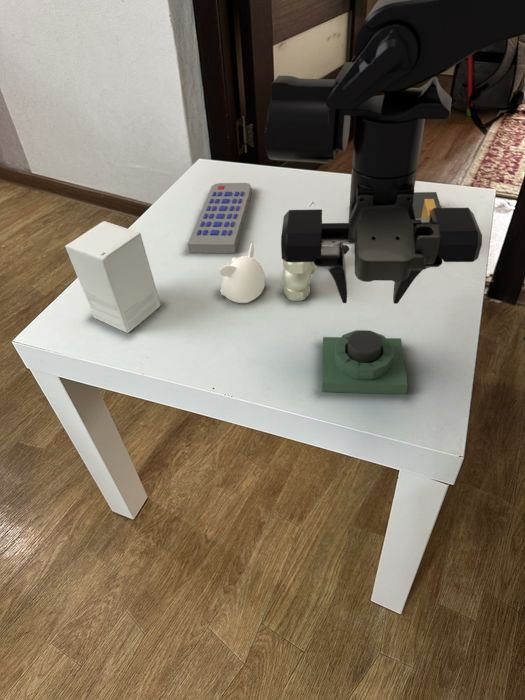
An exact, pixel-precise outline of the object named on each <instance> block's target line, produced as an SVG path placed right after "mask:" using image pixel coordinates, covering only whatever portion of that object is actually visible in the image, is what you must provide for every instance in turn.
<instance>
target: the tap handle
mask: <svg viewBox="0 0 525 700" xmlns="http://www.w3.org/2000/svg"><path fill="white" fill-rule="evenodd" d="M433 208H436V205H435V202H434V199H425V200H424V205H423V211H422V217H421V218H429V217H430V212H431V210H432V209H433Z"/></svg>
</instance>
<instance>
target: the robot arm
mask: <svg viewBox="0 0 525 700" xmlns="http://www.w3.org/2000/svg"><path fill="white" fill-rule="evenodd" d="M524 35H525V0H377V1H376V3H375V4H374V5H373V7H372V8H371V10H370V11H369V13H368V14H367V16H366V18H365V19H364V20H363V23H362V25H361V27H360V29H359V30H358V32H357V34H356V40H355V44H354V56H353V58H352V59H351V60H350V61H347V62H345V63H344V65H343V66H342V68H341V70H340V71H339V72H338V75H337V76H336V78H334V79H333V78H299V77H296V76H293V75H277V77H276V78H275V79H274V80H273V81H272V83H271V84H270V100H269V103H268V109H267V114H266V127H265V128H264V129H263V139H264V141H263V142H264V148H265V152H266V155H267V158H268V159H269V160H270V161H284V162H300V163H314V164H315V163H316V164H330V165H331V164H332V163H333V161H335V159H336V155H337V153H346V150H347V147H348V142H349V137H350V128H351V116H352V117H354V129H353V144H352V161H351V162H352V163H351V174H350V176H351V177H350V193H349V206H348V207H349V209H348V222H323V209H322V208H321V209H289V210H288V211H287V212H286V213H285V214H284V215H283V219H282V227H281V234H280V235H281V237H280V247H281V248H280V253H281V254H280V255H281V260H282V261H283V260H284V261H286V262H314V265H315V266H317V267H318V268H324V269H326V270H327V271H328V272H329V274H330V275H331V277H332V279H333V281H334V284H335V286H336V289H337V291H338V294H339V298H340V299H341V302H342V304H347V301H348V282H347V281H348V279H347V270H346V261H345V254H344V248H343V245H354V275H355V278H357V279H358V280H359V281H361V282H366V283H371V282H374V281H383V282H384V281H386V282H387V281H390V282H391V281H392V282H394V284H393V292H392V302H393V304H397V305H398V303H400V301H401V299H402V298H403V296H404V295H405V293H406V292H407V290H408V289H409V288H410V287H411V285H412V284H413V282H414V280H415V279H416V278H417V277H418V276H419V275H420V273H422V272H423V271H425V270H426V269H430V268H438V267H440V266H441V265H442V264H443V262H444V263H473V262H475V261H477V260H478V259H479V256H480V253H481V249H482V245H483V234H482V232H481V229H480V226H479V224H478V222H477V219H476V216H475V214H474V213H473V211H472V210H471V209H470V208H469V207H441V208H433V209H432V210H431V212H430V217H429V218H418V219H415V214H414V210H413V200H414V197H413V196H414V192H415V187H416V180H417V173H418V167H419V160H420V155H421V148H422V141H423V135H424V129H425V124H426V123H425V122H426V120H437V121H438V120H439V121H444V120H448V119H449V118H450V116H451V109H452V102H453V101H452V96H451V95H450V94H448V93H447V92H446V90H445V89H443V87H442V86H441V84H440V82H439V79H438V76H439V75H441V74H443V73H445V72H447V71H448V70H450V69H452V68H454V67H455V66H457V65H458V64H460V63H461V62H463V61H465V60H466V59H468V58H469V57H471V56H472V55H474V54H476V53H478V52H479V51H482V50H483V49H486V48H488V47H490V46H492V45H494V44H497V43H501V42H504V41H508V40H511V39H514V38H517V37H521V36H524ZM424 82H426V83H425V84H424V85H422V86H420V87H415V86H418V85H420V84H421V83H424ZM380 93H383V94H382V95H381V94H380ZM378 94H380V95H378Z"/></svg>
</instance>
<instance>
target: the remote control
mask: <svg viewBox="0 0 525 700" xmlns="http://www.w3.org/2000/svg"><path fill="white" fill-rule="evenodd" d="M251 198H252V185H251V184H250V183H248V182H219V183H214V184H212V185H211V186H210V189H209V191H208V193H207V196H206V199H205V201H204V203H203V206H202V209H201V210H200V213H199V216H198V217H197V221H196V223H195V226H194V228H193V231H192V232H191V235H190V238H189V240H188V241H187V247H188V252H189V254H235V253H236V251H237V248H238V244H239V241H240V237H241V233H242V231H243V226H244V223H245V219H246V216H247V213H248V209H249V205H250V202H251Z"/></svg>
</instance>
